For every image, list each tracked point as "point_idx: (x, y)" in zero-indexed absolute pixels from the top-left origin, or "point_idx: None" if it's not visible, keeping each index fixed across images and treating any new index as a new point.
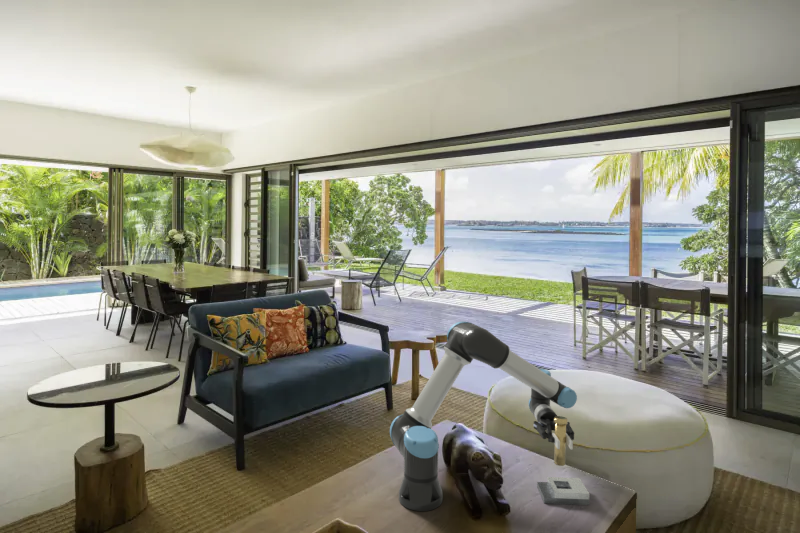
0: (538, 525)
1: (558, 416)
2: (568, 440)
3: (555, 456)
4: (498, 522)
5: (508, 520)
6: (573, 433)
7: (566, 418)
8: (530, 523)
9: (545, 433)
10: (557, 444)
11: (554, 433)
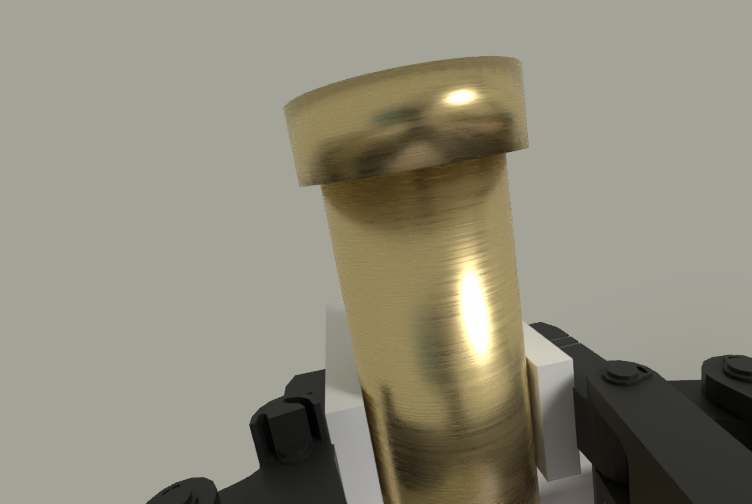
0: (558, 486)
1: (437, 64)
2: None
3: None
4: None
5: None
6: (177, 490)
7: (291, 106)
8: (593, 488)
9: (705, 380)
10: None
11: (532, 357)
